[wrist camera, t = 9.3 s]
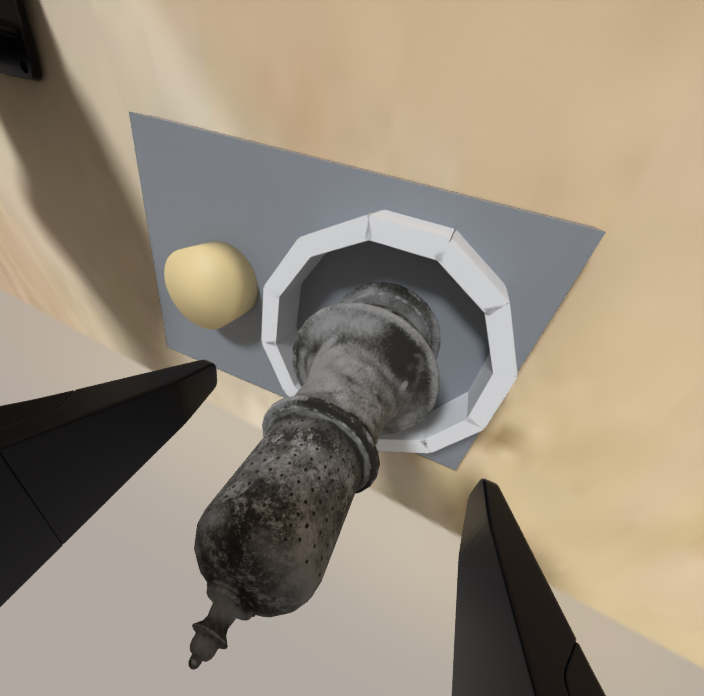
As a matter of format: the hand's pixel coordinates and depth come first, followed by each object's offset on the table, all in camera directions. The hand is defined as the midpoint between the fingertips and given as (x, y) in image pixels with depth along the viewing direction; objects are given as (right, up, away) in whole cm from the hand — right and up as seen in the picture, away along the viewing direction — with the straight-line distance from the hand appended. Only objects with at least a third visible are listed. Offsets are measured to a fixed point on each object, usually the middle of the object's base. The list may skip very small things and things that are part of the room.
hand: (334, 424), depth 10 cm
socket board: (-1, +5, +7) cm, 8 cm away
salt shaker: (+2, +3, +5) cm, 6 cm away
